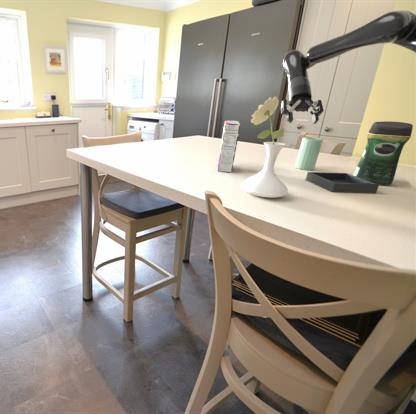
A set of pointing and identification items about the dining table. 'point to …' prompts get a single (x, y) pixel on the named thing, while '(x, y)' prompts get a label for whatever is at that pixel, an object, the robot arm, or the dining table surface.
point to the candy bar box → (228, 146)
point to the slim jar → (308, 153)
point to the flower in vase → (267, 157)
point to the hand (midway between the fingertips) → (303, 122)
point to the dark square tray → (341, 182)
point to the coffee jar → (383, 151)
